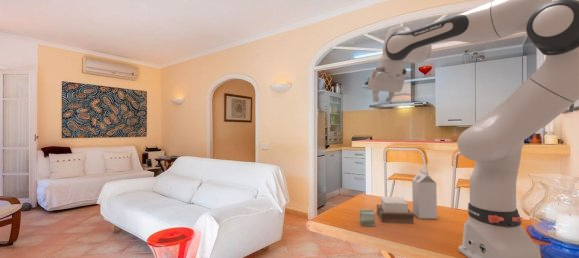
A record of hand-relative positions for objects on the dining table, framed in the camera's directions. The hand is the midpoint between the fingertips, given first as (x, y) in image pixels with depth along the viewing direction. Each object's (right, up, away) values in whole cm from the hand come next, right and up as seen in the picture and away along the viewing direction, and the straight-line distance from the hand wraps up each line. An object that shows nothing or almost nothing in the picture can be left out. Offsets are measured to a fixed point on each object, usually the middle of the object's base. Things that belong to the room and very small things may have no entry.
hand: (381, 101), depth 110 cm
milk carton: (+18, -49, +1) cm, 52 cm away
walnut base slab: (+5, -49, 0) cm, 50 cm away
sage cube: (-8, -49, -6) cm, 50 cm away
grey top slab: (+5, -45, 0) cm, 46 cm away
